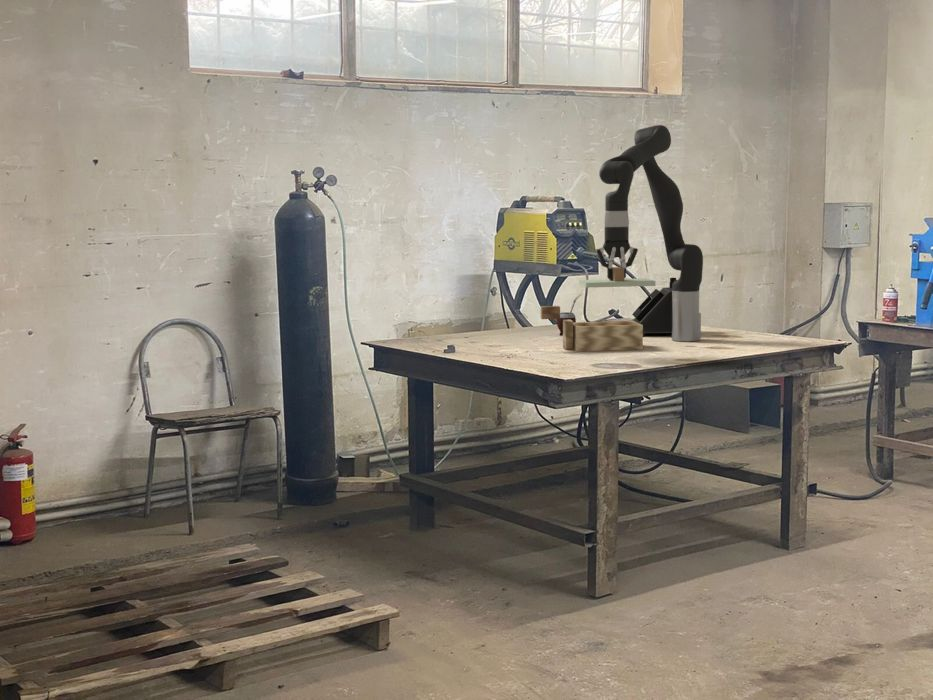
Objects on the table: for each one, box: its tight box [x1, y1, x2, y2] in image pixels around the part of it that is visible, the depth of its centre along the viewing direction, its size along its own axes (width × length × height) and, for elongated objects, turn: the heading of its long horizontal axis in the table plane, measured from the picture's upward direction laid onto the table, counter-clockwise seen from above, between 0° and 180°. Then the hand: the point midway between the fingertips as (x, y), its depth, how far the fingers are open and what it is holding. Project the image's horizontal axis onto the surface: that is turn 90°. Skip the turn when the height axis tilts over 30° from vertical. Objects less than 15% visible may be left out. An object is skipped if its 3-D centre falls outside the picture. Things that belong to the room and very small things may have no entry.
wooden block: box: [540, 305, 561, 320], centre depth 374 cm, size 6×3×4 cm, turn 95°
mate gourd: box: [556, 293, 582, 337], centre depth 413 cm, size 8×8×15 cm
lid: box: [578, 266, 657, 288], centre depth 359 cm, size 22×12×6 cm, turn 95°
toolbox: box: [562, 320, 644, 352], centre depth 377 cm, size 25×12×10 cm, turn 95°
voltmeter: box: [632, 277, 678, 337], centre depth 411 cm, size 16×16×20 cm
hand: (616, 279), depth 359 cm, fingers closed on lid, 3 cm apart
